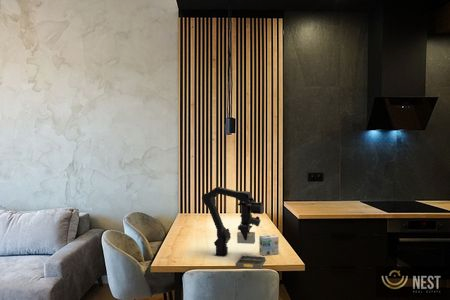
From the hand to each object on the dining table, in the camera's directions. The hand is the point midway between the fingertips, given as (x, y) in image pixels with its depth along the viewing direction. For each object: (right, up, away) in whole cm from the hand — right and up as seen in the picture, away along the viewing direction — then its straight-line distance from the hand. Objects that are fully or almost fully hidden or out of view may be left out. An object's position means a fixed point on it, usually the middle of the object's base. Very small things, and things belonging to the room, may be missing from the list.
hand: (246, 239), depth 217 cm
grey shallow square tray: (+2, -11, -11) cm, 16 cm away
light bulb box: (+14, -11, +8) cm, 20 cm away
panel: (0, -2, 0) cm, 2 cm away
